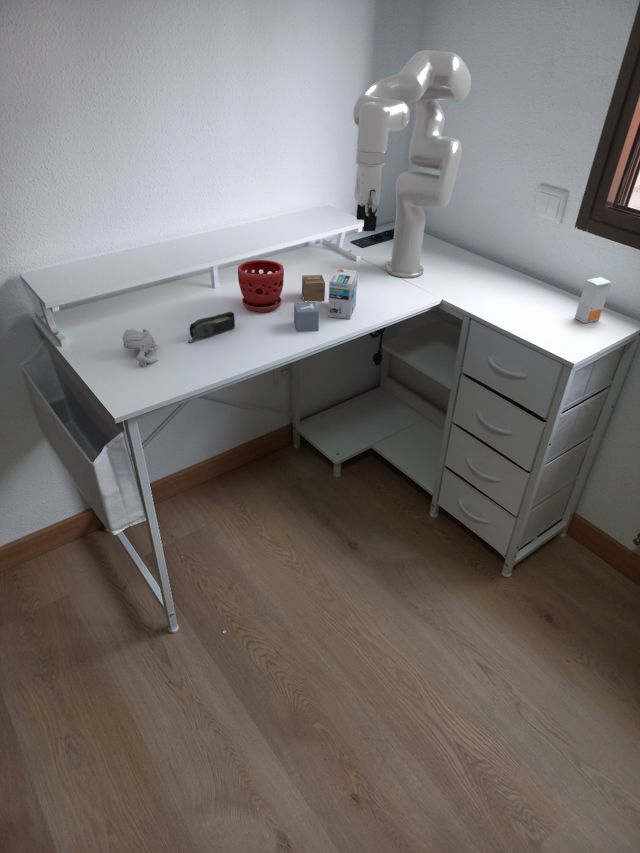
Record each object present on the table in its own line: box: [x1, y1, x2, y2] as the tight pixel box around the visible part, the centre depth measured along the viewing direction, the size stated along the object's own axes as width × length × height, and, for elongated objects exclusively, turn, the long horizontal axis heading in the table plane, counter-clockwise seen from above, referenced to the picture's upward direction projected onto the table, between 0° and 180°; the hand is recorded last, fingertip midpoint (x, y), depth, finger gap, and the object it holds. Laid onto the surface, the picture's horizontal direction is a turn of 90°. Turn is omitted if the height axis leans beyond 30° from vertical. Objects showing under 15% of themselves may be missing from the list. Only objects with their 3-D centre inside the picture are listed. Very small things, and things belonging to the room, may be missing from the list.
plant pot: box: [237, 259, 285, 313], centre depth 181 cm, size 13×13×12 cm
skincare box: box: [574, 276, 613, 324], centre depth 180 cm, size 6×4×12 cm
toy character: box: [122, 328, 159, 367], centre depth 156 cm, size 6×9×12 cm
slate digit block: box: [293, 301, 320, 333], centre depth 172 cm, size 6×6×6 cm
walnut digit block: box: [301, 274, 326, 302], centre depth 188 cm, size 6×6×6 cm
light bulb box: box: [327, 268, 359, 320], centre depth 180 cm, size 11×7×11 cm, turn 168°
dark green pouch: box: [188, 311, 236, 344], centre depth 167 cm, size 5×3×15 cm
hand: (365, 224), depth 168 cm, fingers open, 9 cm apart
